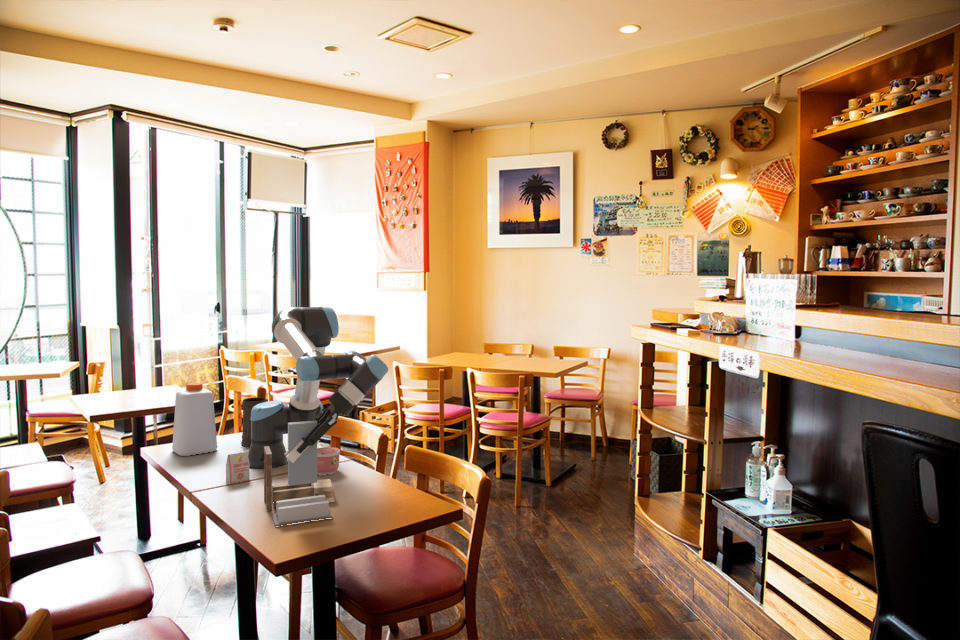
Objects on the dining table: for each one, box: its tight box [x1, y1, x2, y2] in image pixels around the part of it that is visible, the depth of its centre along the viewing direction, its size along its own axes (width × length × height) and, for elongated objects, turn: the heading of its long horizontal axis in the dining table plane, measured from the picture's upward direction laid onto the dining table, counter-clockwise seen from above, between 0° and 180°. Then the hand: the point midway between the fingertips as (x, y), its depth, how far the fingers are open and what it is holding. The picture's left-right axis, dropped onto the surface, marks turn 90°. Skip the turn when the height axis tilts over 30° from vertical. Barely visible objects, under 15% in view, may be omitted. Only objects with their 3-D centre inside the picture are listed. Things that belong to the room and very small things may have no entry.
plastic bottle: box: [171, 382, 218, 457], centre depth 239 cm, size 15×15×28 cm
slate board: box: [287, 421, 318, 486], centre depth 171 cm, size 8×2×18 cm, turn 115°
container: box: [317, 446, 341, 476], centre depth 215 cm, size 10×10×8 cm
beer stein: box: [240, 397, 267, 448], centre depth 250 cm, size 15×11×20 cm
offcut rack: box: [263, 446, 336, 511], centre depth 184 cm, size 21×10×18 cm, turn 115°
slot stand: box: [271, 495, 334, 527], centre depth 171 cm, size 16×9×5 cm, turn 115°
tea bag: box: [225, 451, 251, 485], centre depth 203 cm, size 4×7×10 cm, turn 133°
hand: (288, 458), depth 169 cm, fingers closed on slate board, 2 cm apart
